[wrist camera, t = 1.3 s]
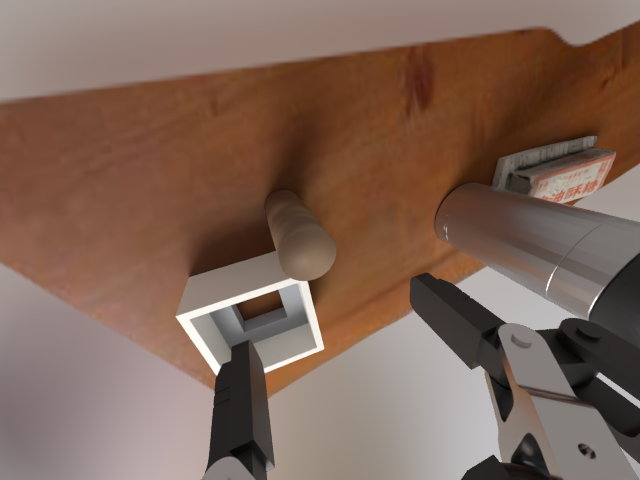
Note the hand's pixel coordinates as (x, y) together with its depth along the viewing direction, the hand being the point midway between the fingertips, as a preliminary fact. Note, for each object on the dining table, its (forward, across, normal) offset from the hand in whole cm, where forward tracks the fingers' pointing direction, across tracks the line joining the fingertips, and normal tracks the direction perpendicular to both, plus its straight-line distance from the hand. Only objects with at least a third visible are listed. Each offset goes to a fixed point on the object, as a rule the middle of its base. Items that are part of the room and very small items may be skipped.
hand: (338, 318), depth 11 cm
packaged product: (+17, -39, +6) cm, 43 cm away
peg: (+17, 0, 0) cm, 17 cm away
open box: (+17, +6, +11) cm, 21 cm away
